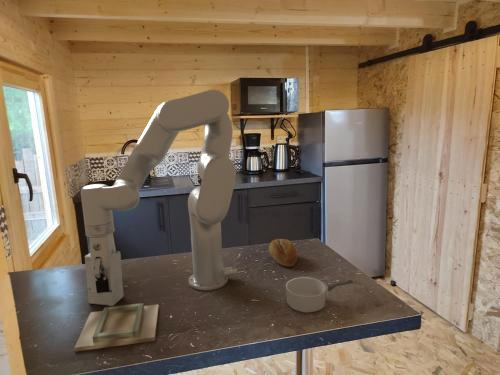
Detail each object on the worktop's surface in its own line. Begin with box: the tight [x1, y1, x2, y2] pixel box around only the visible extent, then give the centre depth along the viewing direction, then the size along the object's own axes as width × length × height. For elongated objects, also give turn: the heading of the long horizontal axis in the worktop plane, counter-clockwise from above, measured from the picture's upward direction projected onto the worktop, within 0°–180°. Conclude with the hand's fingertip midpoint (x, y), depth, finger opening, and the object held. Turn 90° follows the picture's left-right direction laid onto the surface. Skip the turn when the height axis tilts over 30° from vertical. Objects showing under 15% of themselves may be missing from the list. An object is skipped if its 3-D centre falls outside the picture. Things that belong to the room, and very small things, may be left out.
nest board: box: [73, 302, 160, 352], centre depth 88 cm, size 18×15×2 cm
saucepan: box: [285, 276, 354, 313], centre depth 98 cm, size 12×20×6 cm, turn 102°
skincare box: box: [84, 250, 124, 307], centre depth 100 cm, size 8×6×15 cm
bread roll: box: [268, 238, 298, 268], centre depth 126 cm, size 10×15×8 cm, turn 16°
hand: (106, 285), depth 101 cm, fingers closed on skincare box, 7 cm apart
